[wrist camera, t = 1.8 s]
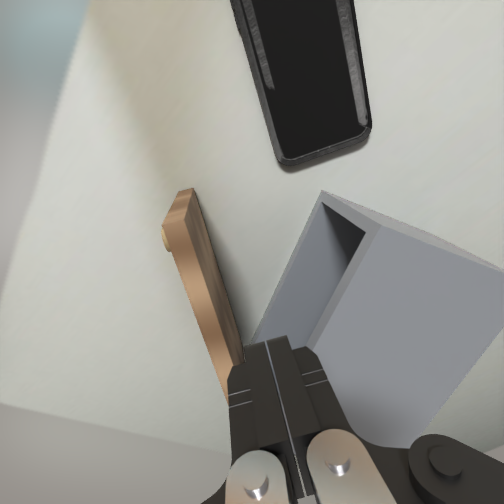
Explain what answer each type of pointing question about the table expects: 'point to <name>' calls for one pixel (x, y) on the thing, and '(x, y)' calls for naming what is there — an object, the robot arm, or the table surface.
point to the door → (203, 283)
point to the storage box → (384, 316)
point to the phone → (306, 74)
